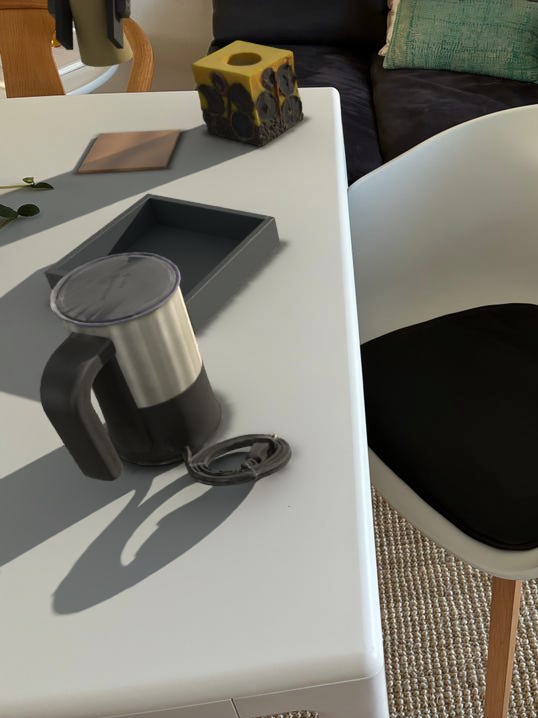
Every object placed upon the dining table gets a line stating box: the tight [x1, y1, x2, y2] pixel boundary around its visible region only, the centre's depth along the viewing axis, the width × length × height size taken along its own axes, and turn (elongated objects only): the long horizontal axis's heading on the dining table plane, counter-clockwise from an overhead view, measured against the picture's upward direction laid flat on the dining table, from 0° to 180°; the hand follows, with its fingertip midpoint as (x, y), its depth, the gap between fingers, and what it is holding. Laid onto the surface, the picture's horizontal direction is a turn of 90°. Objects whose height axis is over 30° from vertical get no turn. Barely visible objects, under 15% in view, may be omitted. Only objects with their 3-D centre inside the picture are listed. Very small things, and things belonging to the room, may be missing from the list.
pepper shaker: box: [69, 0, 134, 68], centre depth 92 cm, size 6×6×11 cm
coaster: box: [77, 129, 181, 174], centre depth 105 cm, size 11×11×1 cm
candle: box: [190, 40, 305, 147], centre depth 108 cm, size 10×10×10 cm
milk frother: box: [39, 252, 292, 487], centre depth 60 cm, size 14×16×15 cm
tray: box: [43, 193, 282, 335], centre depth 83 cm, size 17×17×4 cm
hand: (90, 43), depth 91 cm, fingers closed on pepper shaker, 5 cm apart
